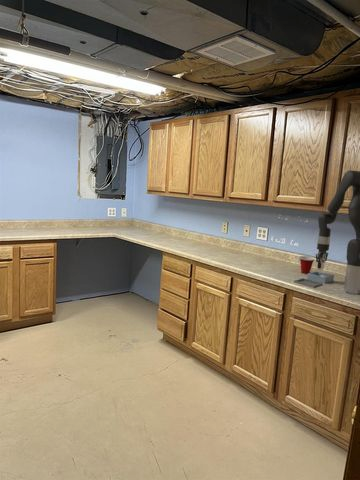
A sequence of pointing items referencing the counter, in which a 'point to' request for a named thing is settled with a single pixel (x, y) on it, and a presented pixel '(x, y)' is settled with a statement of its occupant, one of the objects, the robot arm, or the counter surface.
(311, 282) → the parts tray
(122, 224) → the counter surface
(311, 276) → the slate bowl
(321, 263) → the grey stone
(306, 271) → the plastic cup
